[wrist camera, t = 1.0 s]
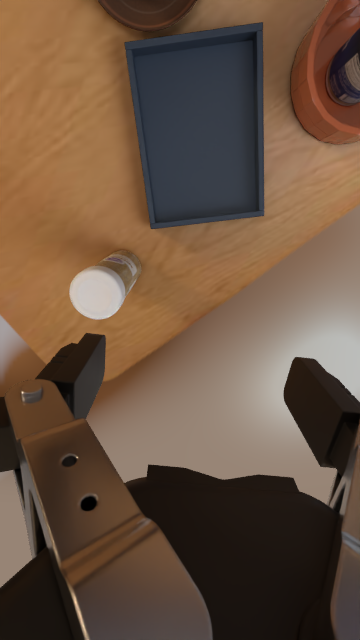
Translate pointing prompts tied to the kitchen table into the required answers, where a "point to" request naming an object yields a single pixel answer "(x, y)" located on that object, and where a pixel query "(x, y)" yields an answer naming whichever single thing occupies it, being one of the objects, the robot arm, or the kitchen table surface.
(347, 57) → the pill bottle
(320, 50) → the bowl
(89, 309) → the sprinkles bottle
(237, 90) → the tray
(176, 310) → the kitchen table surface
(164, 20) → the cup and saucer
